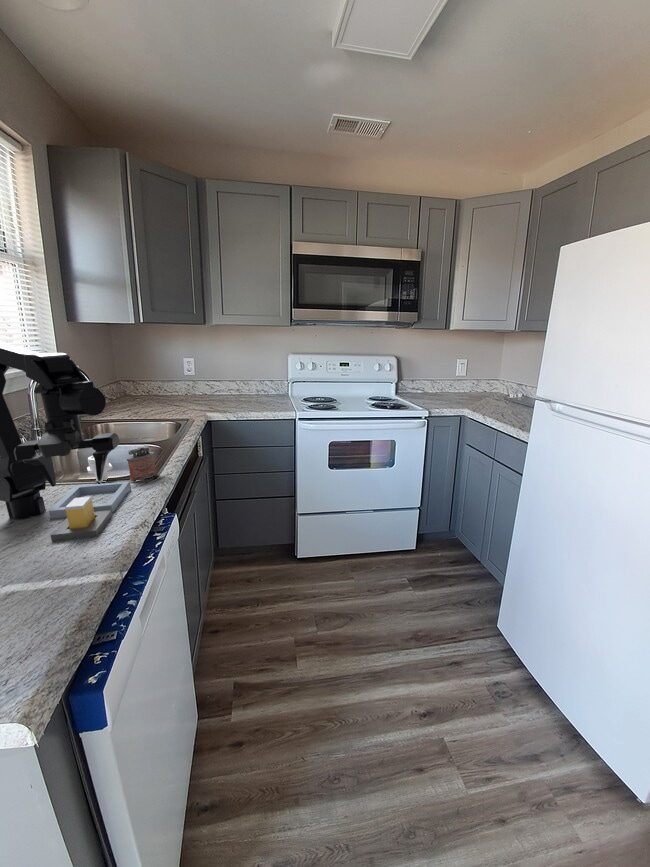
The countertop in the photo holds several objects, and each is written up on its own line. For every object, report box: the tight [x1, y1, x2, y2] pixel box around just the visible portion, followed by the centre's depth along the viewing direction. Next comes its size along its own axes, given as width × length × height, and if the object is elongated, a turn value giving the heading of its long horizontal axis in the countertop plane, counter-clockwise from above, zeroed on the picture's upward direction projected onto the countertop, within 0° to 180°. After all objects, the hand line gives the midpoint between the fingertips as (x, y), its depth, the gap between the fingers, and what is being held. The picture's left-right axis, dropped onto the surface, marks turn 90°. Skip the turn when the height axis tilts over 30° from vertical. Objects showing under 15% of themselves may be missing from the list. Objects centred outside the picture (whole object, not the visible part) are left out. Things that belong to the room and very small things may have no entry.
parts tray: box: [48, 480, 132, 519], centre depth 105 cm, size 14×16×3 cm
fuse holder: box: [50, 510, 113, 542], centre depth 91 cm, size 9×10×2 cm
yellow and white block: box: [65, 496, 95, 529], centre depth 90 cm, size 4×5×6 cm
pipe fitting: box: [86, 455, 113, 482], centre depth 121 cm, size 6×7×8 cm
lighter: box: [126, 445, 157, 481], centre depth 122 cm, size 8×3×10 cm, turn 141°
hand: (77, 483), depth 88 cm, fingers open, 9 cm apart
